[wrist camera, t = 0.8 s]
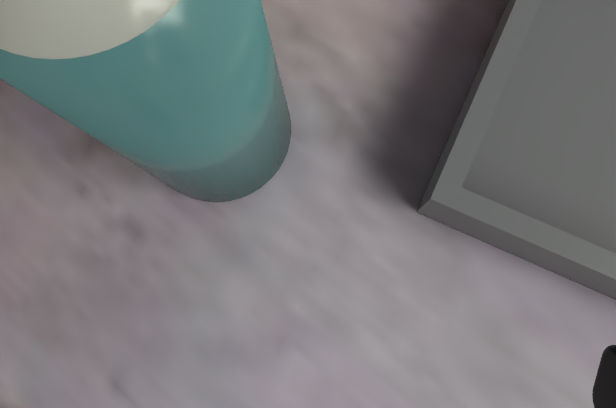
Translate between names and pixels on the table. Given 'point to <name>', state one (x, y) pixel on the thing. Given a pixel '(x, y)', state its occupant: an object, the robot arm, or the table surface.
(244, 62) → the teal cylinder
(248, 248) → the table surface
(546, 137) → the tray
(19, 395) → the table surface
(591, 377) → the table surface
